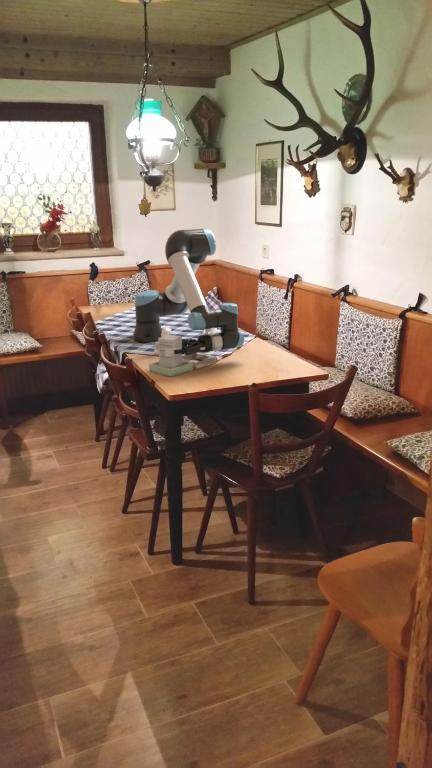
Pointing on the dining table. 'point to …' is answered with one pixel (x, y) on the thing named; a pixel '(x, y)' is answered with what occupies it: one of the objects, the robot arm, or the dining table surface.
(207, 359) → the beige square tray
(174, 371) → the green tray
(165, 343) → the supplement box
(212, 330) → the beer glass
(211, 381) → the dining table surface
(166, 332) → the white creature statuette
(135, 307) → the robot arm
